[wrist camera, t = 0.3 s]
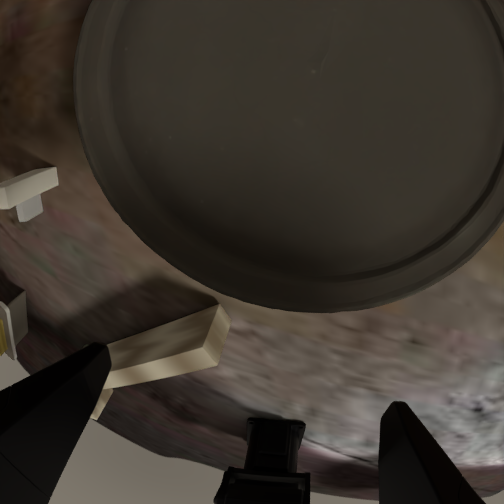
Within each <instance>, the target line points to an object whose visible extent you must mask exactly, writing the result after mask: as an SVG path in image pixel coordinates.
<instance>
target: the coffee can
mask: <svg viewBox="0 0 504 504" xmlns="http://www.w3.org/2000/svg"><path fill="white" fill-rule="evenodd" d="M73 92H74V104H75V112H76V118H77V123H78V128H79V133H80V137H81V141H82V144H83V148H84V151H85V154H86V157H87V160H88V162H89V164H90V167H91V169H92V172H93V174H94V177H95V179H96V180H97V182H98V184H99V185H100V187H101V189H102V191H103V193H104V195H105V196H106V198H107V199H108V201H109V203H110V204H111V206H112V207H113V208H114V210H115V211H116V212H117V213H118V214H119V216H120V217H121V219H122V221H124V222H125V223H126V224H127V225H128V226H129V227H130V228H131V229H132V230H133V232H134V233H135V234H136V235H137V236H138V237H139V238H140V239H141V240H142V241H143V242H144V243H145V244H146V245H147V246H148V247H150V248H151V249H152V250H153V251H154V252H155V253H157V254H158V255H159V256H161V257H162V258H163V259H165V260H166V261H167V262H168V263H170V264H171V265H172V266H174V267H175V268H177V269H178V270H180V271H181V272H183V273H184V274H186V275H187V276H189V277H190V278H192V279H194V280H196V281H198V282H199V283H201V284H203V285H205V286H206V287H209V288H211V289H213V290H215V291H217V292H219V293H221V294H224V295H227V296H230V297H233V298H236V299H238V300H241V301H243V302H247V303H251V304H255V305H259V306H263V307H267V308H271V309H280V310H285V311H293V312H308V313H335V312H341V311H358V310H363V309H369V308H374V307H377V306H381V305H385V304H388V303H392V302H395V301H398V300H401V299H404V298H407V297H409V296H412V295H414V294H416V293H418V292H420V291H423V290H425V289H427V288H428V287H430V286H432V285H434V284H436V283H437V282H439V281H441V280H442V279H444V278H445V277H447V276H448V275H450V274H451V273H453V272H454V271H456V270H457V269H458V268H460V267H461V266H463V265H464V264H465V263H467V262H468V261H469V260H470V259H471V258H472V257H473V256H474V255H475V254H476V253H477V252H478V251H479V250H480V249H481V248H482V247H483V246H484V245H485V244H486V243H487V242H488V241H489V240H490V239H491V237H492V236H493V235H494V234H495V232H496V231H497V229H498V228H499V227H500V225H501V224H502V223H503V222H504V0H92V2H91V4H90V6H89V8H88V11H87V13H86V16H85V19H84V22H83V25H82V28H81V32H80V36H79V40H78V44H77V49H76V53H75V60H74V73H73Z"/></svg>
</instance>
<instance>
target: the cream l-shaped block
mask: <svg viewBox="0 0 504 504" xmlns="http://www.w3.org/2000/svg"><path fill="white" fill-rule="evenodd" d="M58 185H59V184H58V176H57V168H56V167H50V168H42V169H34V170H32V171H29V172H26V173H24V174H21V175H19V176H16V177H14V178H11V179H9V180H7V181H4V182H2V183H0V209H10V208H12V207H14V206H16V209H17V214H18V218H19V222H26V221H28V220H29V219H31V218H33V217H35V216H36V215H38V214H40V213H42V212H43V207H42V201H41V195H40V193H42V192H44V191H47V190H49V189H51V188H53V187H55V186H58Z"/></svg>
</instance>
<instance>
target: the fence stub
mask: <svg viewBox="0 0 504 504" xmlns="http://www.w3.org/2000/svg"><path fill="white" fill-rule="evenodd" d="M112 393H113V390H112V388H109V389H103V390H102V392H101V395H100V397H99V400H98V402H97V405H96V407H95V409H94V411H93V413H92V415H91V417H90V418H92V419H95V420H97V419H98V417H99V415H100V414H101V412H102V410H103V408H104V406H105V405H106V403H107V401H108V399H109V398H110V396H111V394H112Z"/></svg>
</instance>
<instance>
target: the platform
mask: <svg viewBox="0 0 504 504" xmlns="http://www.w3.org/2000/svg"><path fill="white" fill-rule="evenodd" d="M27 333H28V324H27V310H26V291H25V290H24V291H23V292H22V293H21V294H20V295H18V296H17V297H16V298H15V299H14V300H13V301H12V302H10V303H9V304H8V305H7V306H6V305H5V304H4V303H2V302H1V301H0V356H1V355H2V354H3V353H4V352H5V353H6V354H7V355H8V356H9V357H10V358H11V359H12V360H15V359H16V358H17V355H16V350H15V346H16V345H17V343H18V342H19V341H20V340H21V339H22V338H23V337H24V336H25V335H26V334H27Z"/></svg>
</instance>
